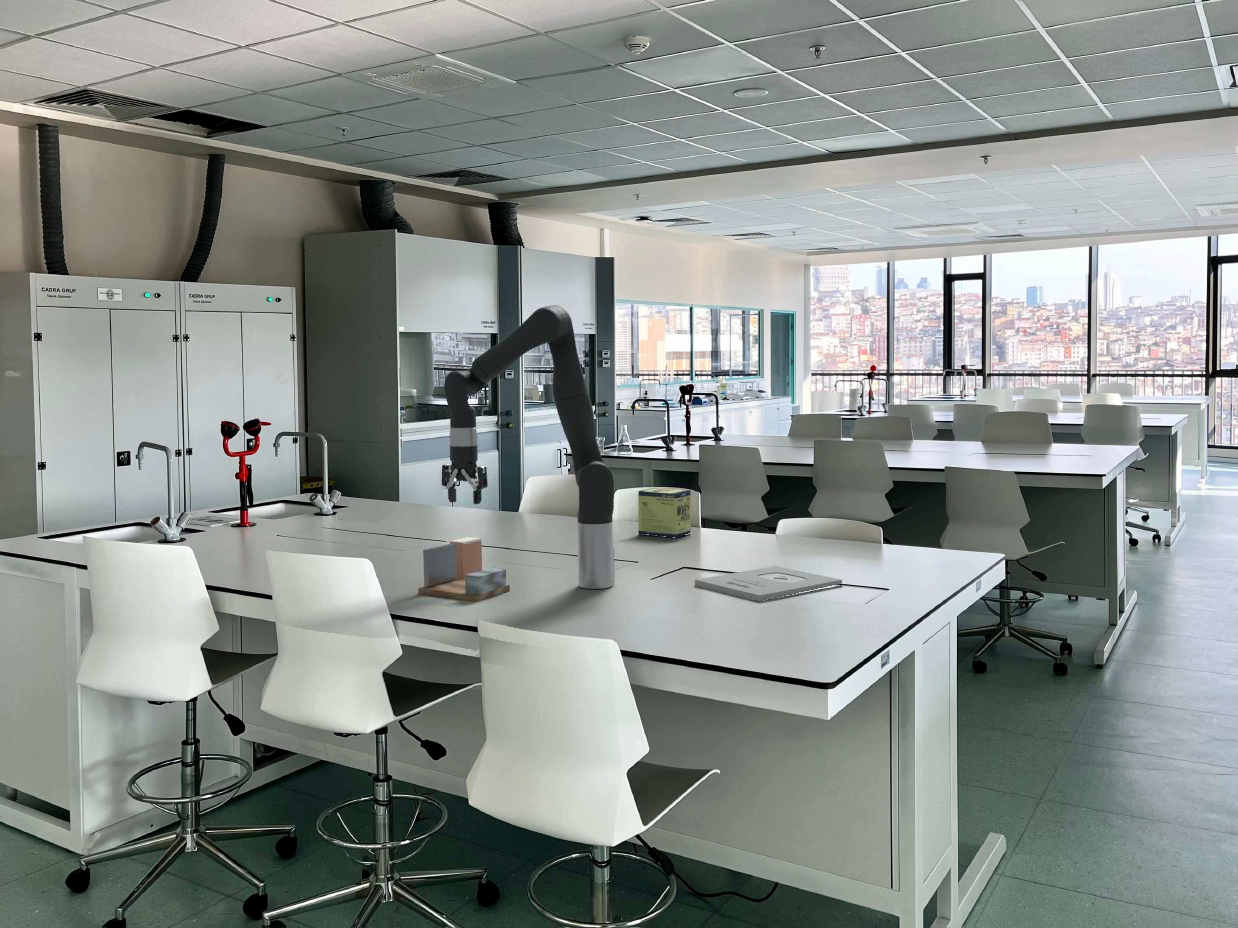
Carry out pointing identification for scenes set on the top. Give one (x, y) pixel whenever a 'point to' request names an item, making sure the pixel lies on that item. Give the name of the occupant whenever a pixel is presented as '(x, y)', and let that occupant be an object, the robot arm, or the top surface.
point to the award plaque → (766, 583)
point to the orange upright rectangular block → (468, 556)
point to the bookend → (439, 564)
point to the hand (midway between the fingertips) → (464, 503)
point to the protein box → (664, 512)
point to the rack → (471, 586)
